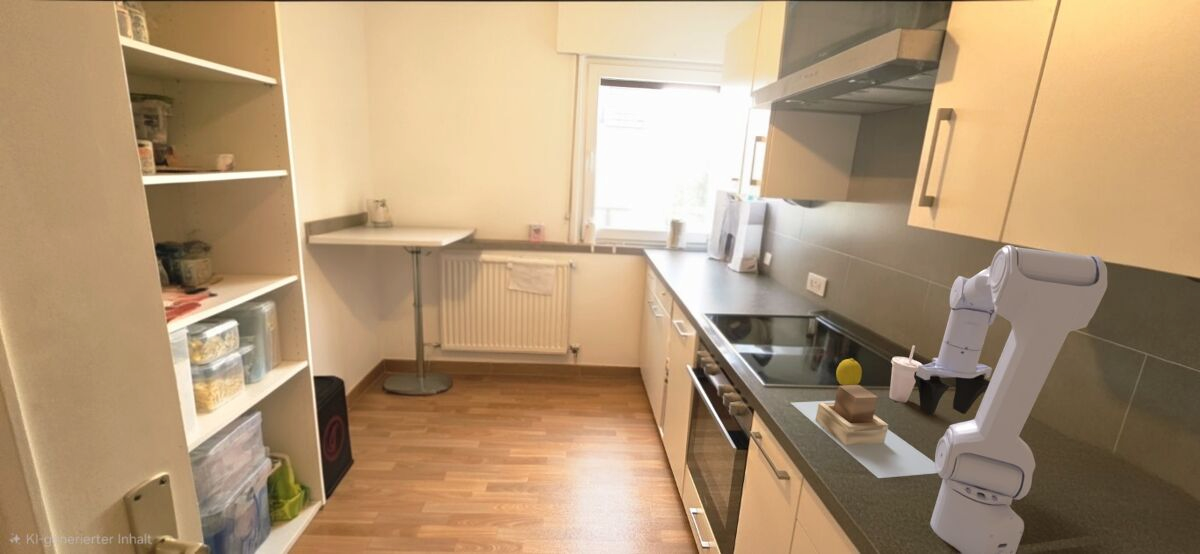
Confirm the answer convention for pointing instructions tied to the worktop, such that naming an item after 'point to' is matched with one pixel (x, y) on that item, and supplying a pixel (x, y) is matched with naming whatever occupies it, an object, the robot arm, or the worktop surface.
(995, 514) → the robot arm
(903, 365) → the smoothie
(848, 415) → the walnut block
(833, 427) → the socket base
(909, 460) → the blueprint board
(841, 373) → the lemon
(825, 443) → the worktop surface
